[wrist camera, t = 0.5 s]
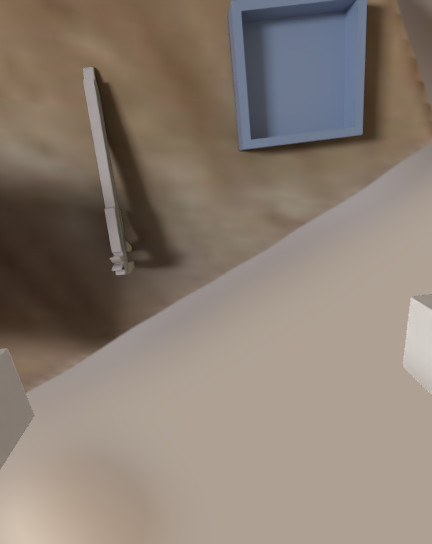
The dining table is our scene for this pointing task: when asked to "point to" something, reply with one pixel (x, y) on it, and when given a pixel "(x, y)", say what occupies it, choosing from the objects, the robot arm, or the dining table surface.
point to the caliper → (107, 177)
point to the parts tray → (297, 70)
